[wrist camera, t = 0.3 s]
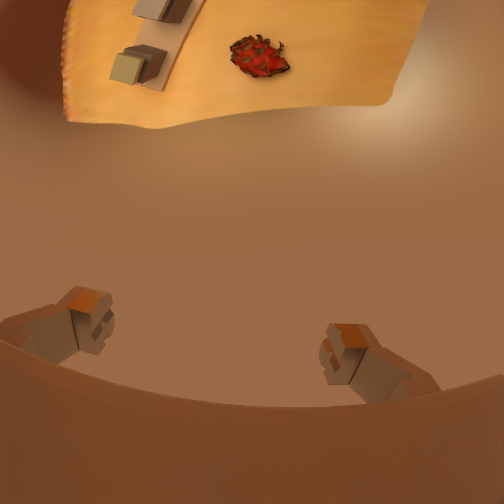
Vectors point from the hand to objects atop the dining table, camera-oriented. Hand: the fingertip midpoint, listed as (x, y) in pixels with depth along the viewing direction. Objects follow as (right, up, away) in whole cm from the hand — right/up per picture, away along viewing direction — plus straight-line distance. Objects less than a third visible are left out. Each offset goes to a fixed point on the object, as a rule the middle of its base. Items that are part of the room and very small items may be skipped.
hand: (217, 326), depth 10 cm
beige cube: (-14, +44, +20) cm, 51 cm away
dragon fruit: (+3, +41, +34) cm, 54 cm away
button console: (-14, +50, +26) cm, 58 cm away
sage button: (-20, +37, +28) cm, 50 cm away
